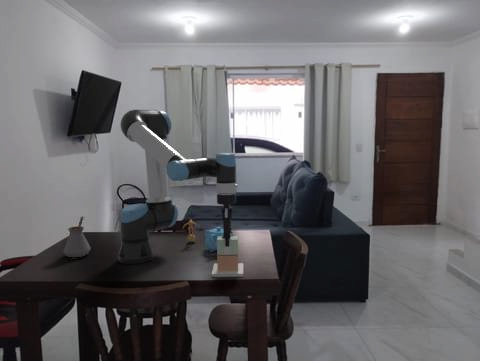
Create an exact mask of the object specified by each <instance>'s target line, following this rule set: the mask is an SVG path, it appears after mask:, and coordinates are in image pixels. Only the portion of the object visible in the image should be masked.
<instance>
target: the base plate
mask: <svg viewBox="0 0 480 361" xmlns="http://www.w3.org/2000/svg"><path fill="white" fill-rule="evenodd" d="M231 277H232V278H235V277H236V278H238V277H239V278H242V277H244V263H243V262H240V263H239V262H238V270H236V271H218V266H217V263H214V264H213V266H212V271H211V278H231Z"/></svg>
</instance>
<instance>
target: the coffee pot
mask: <svg viewBox="0 0 480 361" xmlns="http://www.w3.org/2000/svg"><path fill="white" fill-rule="evenodd" d="M79 219H80V220H79V222H78V226H71V227H68V228H67V230H68V231H69V234H68V237H67V240H66V244H65V245H64V248H63V254H64V255H65V256H66V257H68V258H69V257H81V258H83V257H82V256H84V257H86V256H87V255H88V254H89V253H90V251H91V246H90V244H89V242H88V240H87V238H86V237H85V235H84V233H83V230H84V228H85V227H84V226H82V224H83V221H84V219H86V217H85V216H81V217H80V218H79ZM86 254H87V255H86ZM85 255H86V256H85Z"/></svg>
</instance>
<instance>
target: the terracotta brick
mask: <svg viewBox="0 0 480 361" xmlns="http://www.w3.org/2000/svg"><path fill="white" fill-rule="evenodd" d="M216 258H217V260H216V261H217V266H218V271H236V270H238V263H239V254H238V255H216Z"/></svg>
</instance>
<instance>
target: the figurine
mask: <svg viewBox="0 0 480 361" xmlns="http://www.w3.org/2000/svg"><path fill="white" fill-rule="evenodd" d="M187 225H188V233H189V234H188V235H187V237H186V238H187V239H186V240H187V241H188V242H189V243H194V242H195V241H196V235H194V233H195V232H194V230H195V227H194V226H193V225H196V226H197V228H199V229H200V225H198V223H196V222H194V221H193V219H191V218H190V219H189V221H188V222H187V223H184V225H183V227H182V229H184V228H185V226H187ZM191 231H192V233H191Z"/></svg>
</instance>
